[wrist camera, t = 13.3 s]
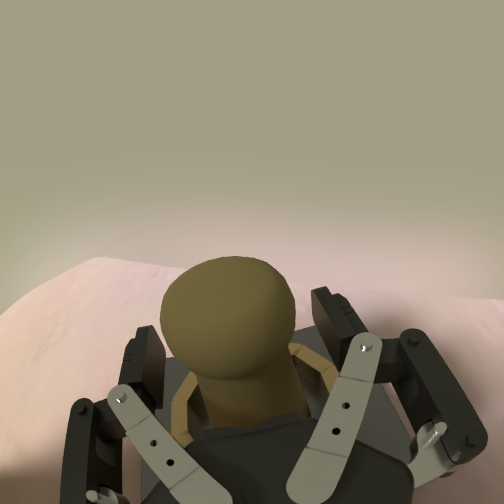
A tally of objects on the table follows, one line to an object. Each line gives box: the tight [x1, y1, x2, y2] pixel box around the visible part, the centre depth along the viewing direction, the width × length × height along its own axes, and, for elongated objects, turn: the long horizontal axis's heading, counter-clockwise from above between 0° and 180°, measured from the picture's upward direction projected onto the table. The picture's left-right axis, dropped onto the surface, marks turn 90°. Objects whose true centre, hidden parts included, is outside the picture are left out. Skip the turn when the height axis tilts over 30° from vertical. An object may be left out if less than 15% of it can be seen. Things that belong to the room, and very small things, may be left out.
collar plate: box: [141, 325, 411, 502], centre depth 15 cm, size 16×14×3 cm
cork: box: [160, 256, 311, 429], centre depth 13 cm, size 6×6×11 cm
